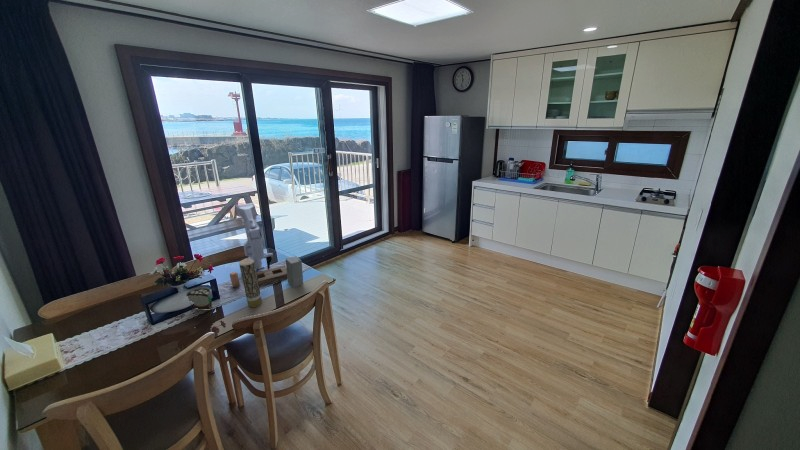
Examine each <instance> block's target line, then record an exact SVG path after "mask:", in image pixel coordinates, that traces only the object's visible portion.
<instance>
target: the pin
mask: <svg viewBox="0 0 800 450" xmlns="http://www.w3.org/2000/svg"><path fill="white" fill-rule="evenodd" d="M229 279H230V281H231V287H232V288H238V287H240V286H241V283H240V278H239V274H238V272H237V271H231V272H229Z"/></svg>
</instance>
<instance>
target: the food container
mask: <svg viewBox="0 0 800 450" xmlns="http://www.w3.org/2000/svg"><path fill="white" fill-rule="evenodd" d="M185 295H186V297H187V298H188V300H189V302H190V301H192V302H194V305H193V307H194V308H198V309H211V308H212V309H213V303H212V302H213V301H212V295H213V292H212V291H211V289H210V288H208V287H197V288H193V289H191V290H189V291H187V292H186V294H185ZM212 309H211V310H212Z"/></svg>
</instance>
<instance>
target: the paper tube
mask: <svg viewBox="0 0 800 450" xmlns="http://www.w3.org/2000/svg"><path fill="white" fill-rule="evenodd" d="M238 265H239V269H240V274H241V278H242V284H243V288H244V292H245V293H244V294H245V297H246V301H247V305H248V307H250V308H257V307H259V306H260V305H261V304H262V303H263V302H262V301H263V300H262V296H261V289H260V286H259V283H258V278H257V273H256V272H257V269H256V268H255V263H254V259H245V258H244V259H242V260H240V261H239V264H238Z"/></svg>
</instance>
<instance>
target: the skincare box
mask: <svg viewBox="0 0 800 450" xmlns="http://www.w3.org/2000/svg"><path fill="white" fill-rule="evenodd" d="M285 266H286V268H287V278H286V279H287V283H288V285H290V286H291V287H292V288H296V287H298V286H302V285H304V277H303V276H304V275H303V261H302V260H301V259H300V257H298V256H296V255H293V256H290V257H287V258H285Z"/></svg>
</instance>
